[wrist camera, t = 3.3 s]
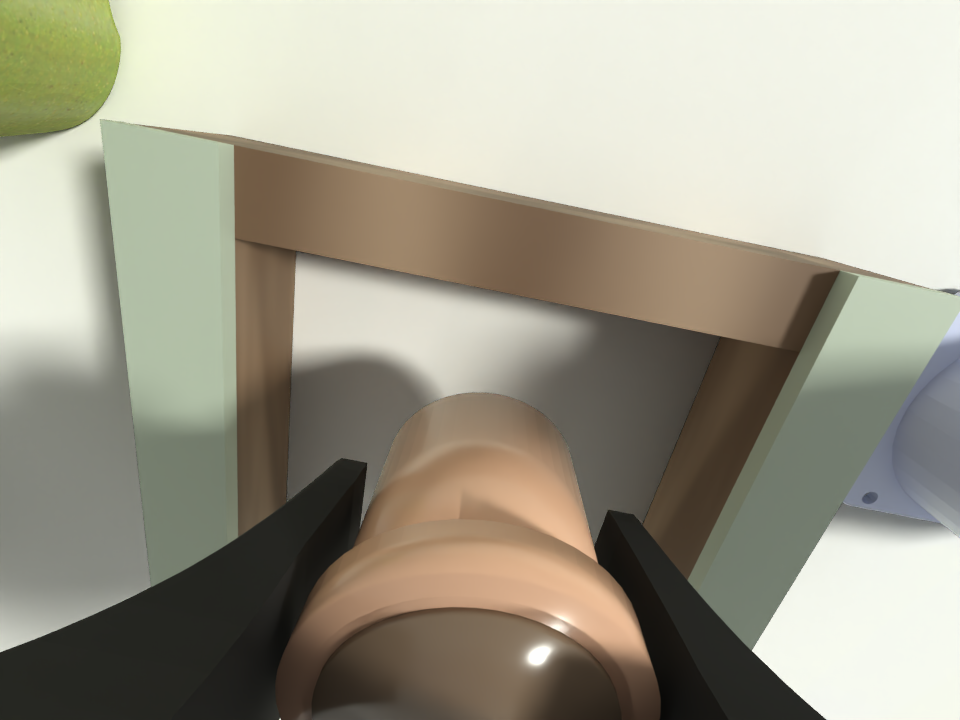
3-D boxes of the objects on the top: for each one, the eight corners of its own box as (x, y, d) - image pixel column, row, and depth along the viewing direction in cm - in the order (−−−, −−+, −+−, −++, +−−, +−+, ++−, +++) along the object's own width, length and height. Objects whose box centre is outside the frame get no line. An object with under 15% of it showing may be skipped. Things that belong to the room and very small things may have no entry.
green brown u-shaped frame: (829, 259, 14) (967, 298, 10) (670, 590, 20) (716, 708, 15) (225, 134, 14) (100, 119, 9) (231, 508, 19) (153, 606, 15)
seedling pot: (616, 402, 12) (728, 625, 6) (556, 571, 14) (598, 853, 8) (385, 357, 11) (275, 548, 6) (362, 538, 14) (267, 804, 8)
